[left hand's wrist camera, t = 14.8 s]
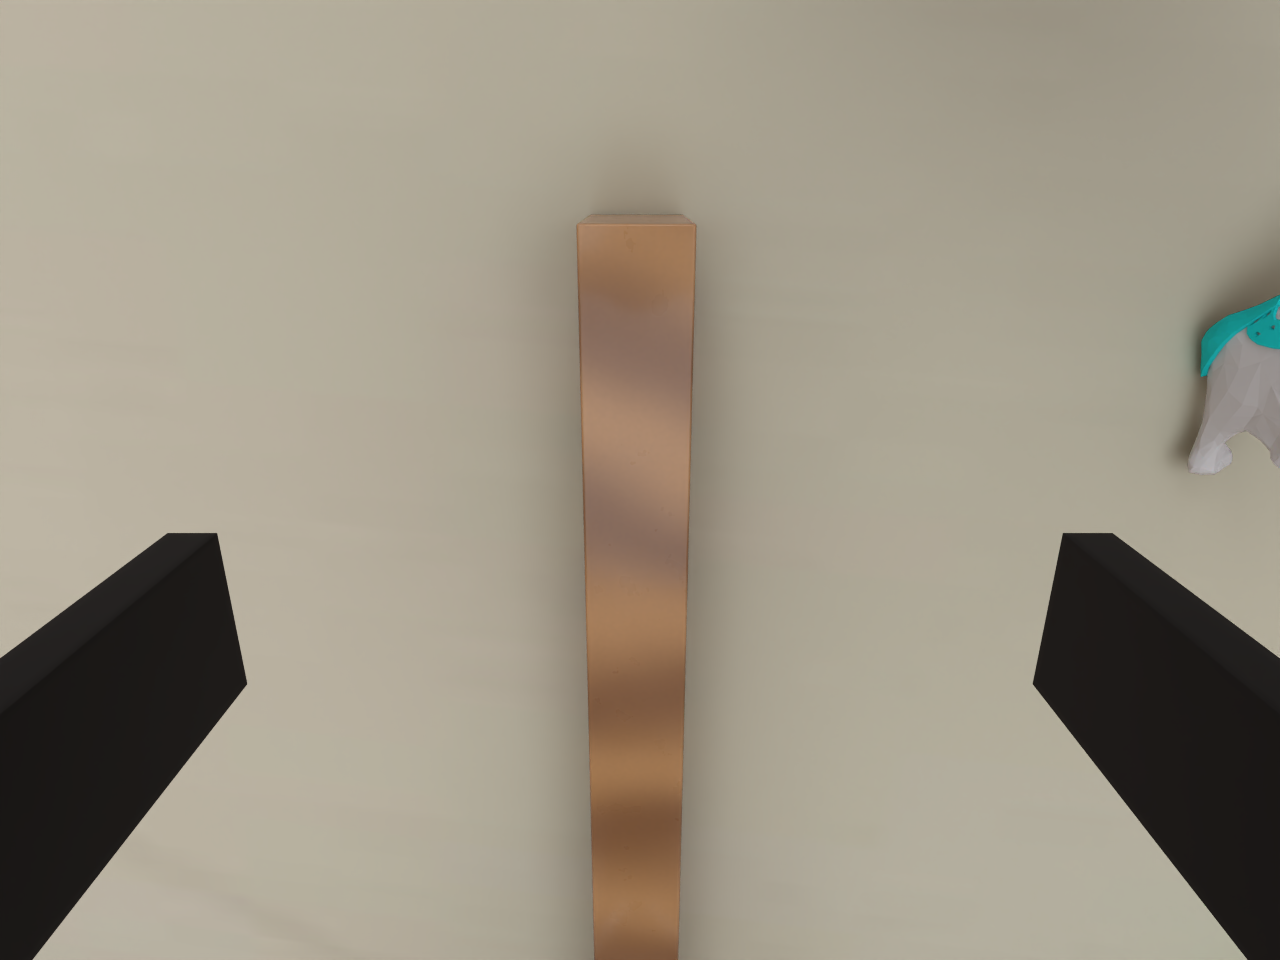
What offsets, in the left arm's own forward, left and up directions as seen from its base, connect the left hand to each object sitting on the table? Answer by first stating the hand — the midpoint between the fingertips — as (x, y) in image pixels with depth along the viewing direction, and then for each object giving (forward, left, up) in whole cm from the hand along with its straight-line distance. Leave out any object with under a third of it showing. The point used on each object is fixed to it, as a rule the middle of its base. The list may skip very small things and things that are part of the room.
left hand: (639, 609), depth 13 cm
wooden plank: (+29, +13, -28) cm, 42 cm away
